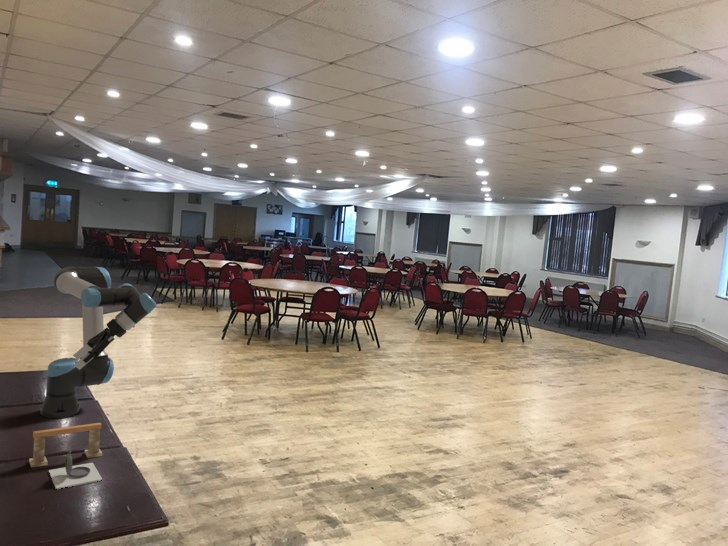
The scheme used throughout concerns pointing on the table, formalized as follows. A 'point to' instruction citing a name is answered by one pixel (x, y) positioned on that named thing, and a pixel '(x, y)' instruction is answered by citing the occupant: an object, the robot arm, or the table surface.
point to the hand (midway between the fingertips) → (75, 362)
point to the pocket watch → (75, 471)
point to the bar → (66, 430)
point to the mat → (65, 480)
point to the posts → (40, 449)
